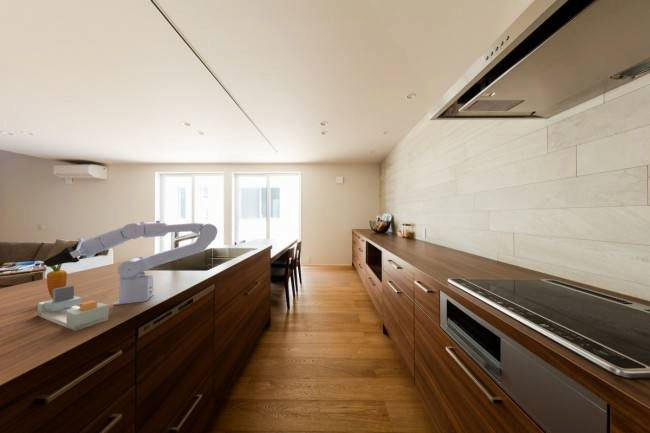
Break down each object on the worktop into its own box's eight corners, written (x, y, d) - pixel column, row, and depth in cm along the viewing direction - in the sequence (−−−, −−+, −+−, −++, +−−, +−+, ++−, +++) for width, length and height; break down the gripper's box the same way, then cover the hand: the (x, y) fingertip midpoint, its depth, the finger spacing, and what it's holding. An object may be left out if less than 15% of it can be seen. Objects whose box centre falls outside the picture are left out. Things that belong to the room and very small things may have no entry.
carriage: (44, 308, 68) (44, 289, 68) (72, 301, 73) (72, 283, 73) (53, 311, 65) (53, 291, 65) (81, 303, 71) (81, 285, 71)
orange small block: (79, 317, 62) (79, 303, 62) (92, 313, 65) (92, 300, 65) (84, 318, 61) (84, 304, 61) (96, 314, 64) (96, 301, 64)
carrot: (51, 304, 78) (52, 262, 78) (42, 303, 79) (42, 262, 79) (70, 299, 82) (70, 260, 83) (61, 298, 83) (61, 259, 84)
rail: (37, 315, 68) (37, 301, 68) (69, 307, 75) (70, 294, 75) (74, 330, 59) (75, 314, 59) (108, 319, 65) (108, 305, 65)
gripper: (103, 229, 82) (55, 245, 76) (89, 235, 70) (30, 256, 64) (114, 245, 84) (68, 262, 78) (102, 253, 72) (46, 275, 66)
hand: (52, 260), depth 71 cm, fingers open, 7 cm apart
